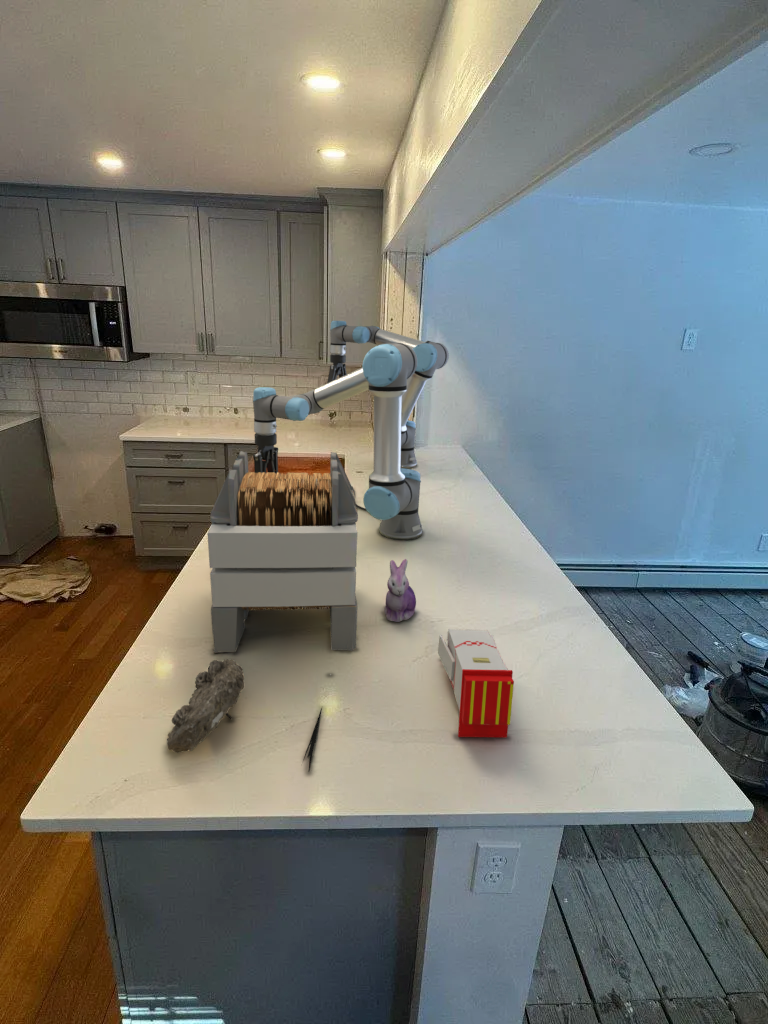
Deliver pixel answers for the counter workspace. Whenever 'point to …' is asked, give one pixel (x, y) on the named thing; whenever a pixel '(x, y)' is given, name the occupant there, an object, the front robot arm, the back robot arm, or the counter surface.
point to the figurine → (399, 594)
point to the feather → (313, 740)
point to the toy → (478, 682)
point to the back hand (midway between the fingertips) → (337, 398)
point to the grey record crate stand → (283, 549)
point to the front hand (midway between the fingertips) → (267, 496)
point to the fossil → (206, 705)
